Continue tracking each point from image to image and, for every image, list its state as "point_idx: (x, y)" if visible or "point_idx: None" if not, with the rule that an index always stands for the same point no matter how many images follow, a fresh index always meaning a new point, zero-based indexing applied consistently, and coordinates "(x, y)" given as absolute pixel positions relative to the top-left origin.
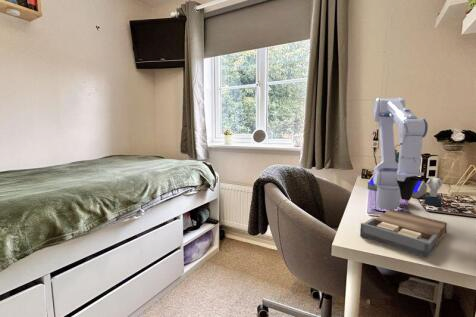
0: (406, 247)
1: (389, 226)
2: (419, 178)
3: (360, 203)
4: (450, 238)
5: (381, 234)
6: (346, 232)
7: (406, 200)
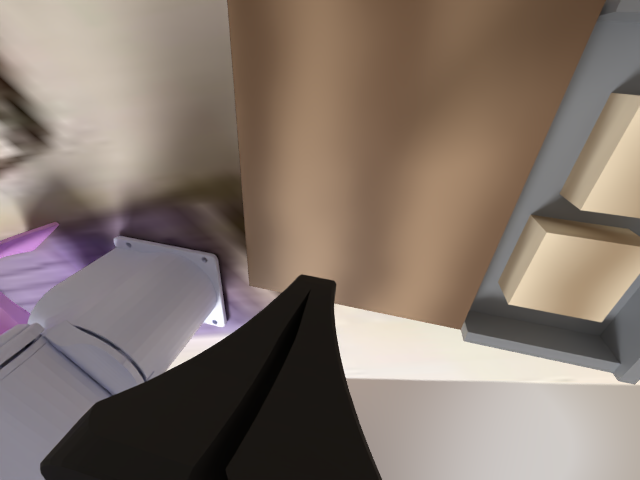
0: None
1: (581, 272)
2: (81, 474)
3: None
4: None
5: None
6: (572, 368)
7: (30, 237)
